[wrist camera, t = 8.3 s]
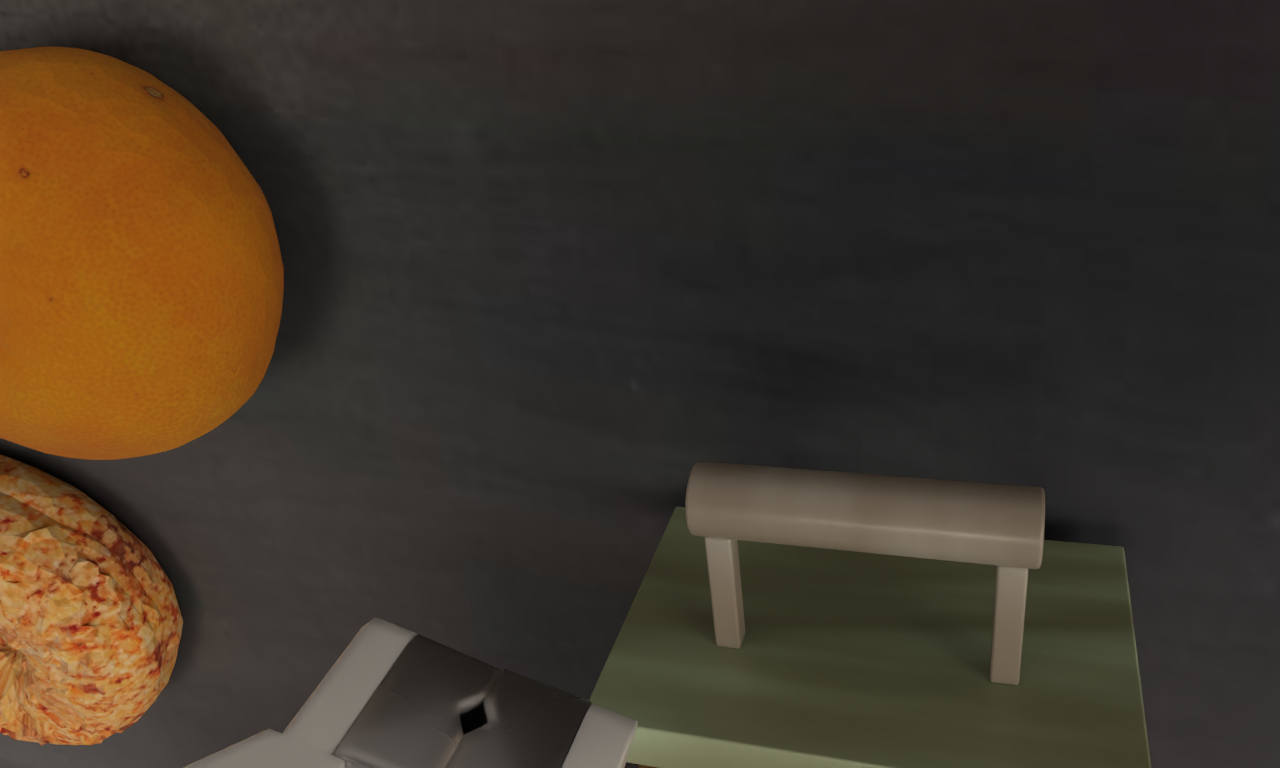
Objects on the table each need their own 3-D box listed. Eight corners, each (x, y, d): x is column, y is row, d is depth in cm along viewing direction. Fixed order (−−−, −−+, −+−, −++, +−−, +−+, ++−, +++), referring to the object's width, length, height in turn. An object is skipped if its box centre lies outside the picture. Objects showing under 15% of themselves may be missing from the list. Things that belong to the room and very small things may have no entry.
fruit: (360, 100, 27) (147, 217, 20) (322, 415, 33) (148, 583, 26) (7, -41, 28) (-304, 27, 21) (33, 289, 34) (-204, 421, 27)
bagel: (-149, 452, 42) (-276, 530, 38) (85, 407, 36) (-35, 492, 32) (33, 692, 47) (-62, 783, 43) (261, 685, 41) (178, 789, 37)
